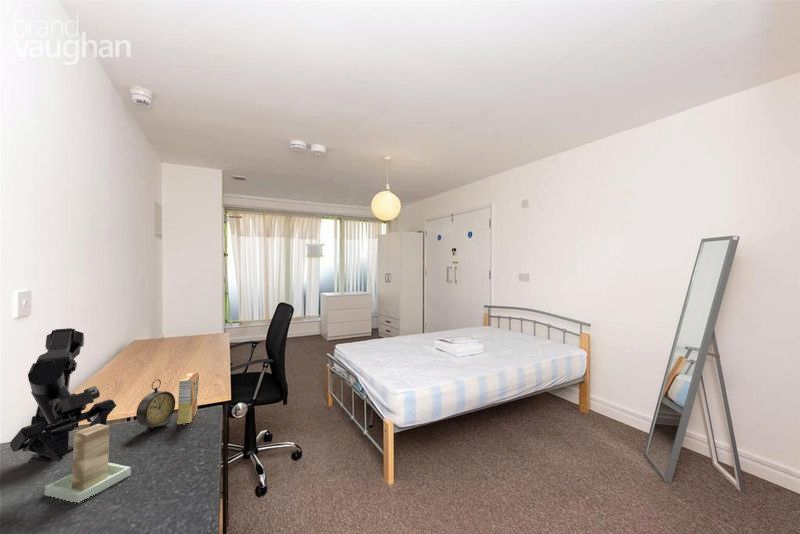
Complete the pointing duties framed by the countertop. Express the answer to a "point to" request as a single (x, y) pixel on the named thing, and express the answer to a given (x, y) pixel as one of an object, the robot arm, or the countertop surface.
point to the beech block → (90, 456)
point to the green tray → (66, 492)
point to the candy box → (188, 398)
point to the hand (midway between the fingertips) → (84, 449)
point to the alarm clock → (155, 408)
